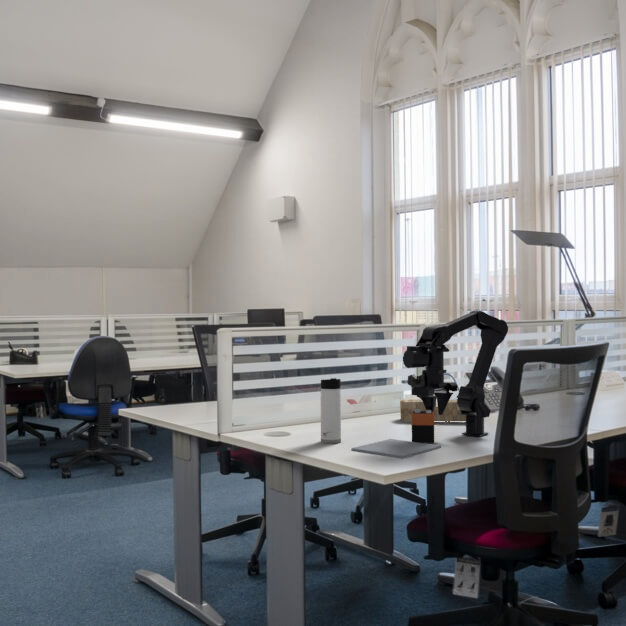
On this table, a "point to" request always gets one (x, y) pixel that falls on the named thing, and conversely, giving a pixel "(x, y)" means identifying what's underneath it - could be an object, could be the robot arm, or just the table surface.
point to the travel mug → (331, 411)
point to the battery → (422, 426)
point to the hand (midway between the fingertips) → (435, 416)
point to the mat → (396, 448)
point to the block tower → (448, 415)
